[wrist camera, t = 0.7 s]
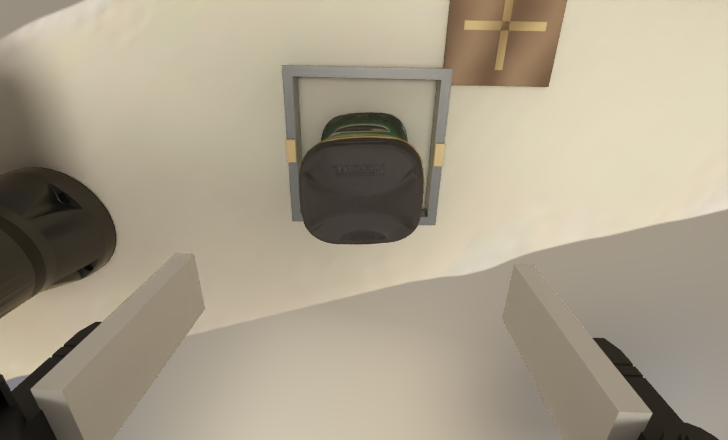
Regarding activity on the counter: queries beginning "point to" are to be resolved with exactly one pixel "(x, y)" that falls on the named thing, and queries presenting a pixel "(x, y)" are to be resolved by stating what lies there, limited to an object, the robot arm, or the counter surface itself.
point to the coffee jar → (362, 181)
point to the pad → (503, 41)
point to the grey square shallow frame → (367, 72)
